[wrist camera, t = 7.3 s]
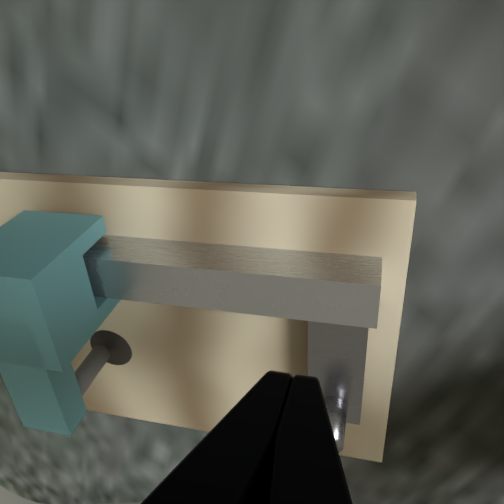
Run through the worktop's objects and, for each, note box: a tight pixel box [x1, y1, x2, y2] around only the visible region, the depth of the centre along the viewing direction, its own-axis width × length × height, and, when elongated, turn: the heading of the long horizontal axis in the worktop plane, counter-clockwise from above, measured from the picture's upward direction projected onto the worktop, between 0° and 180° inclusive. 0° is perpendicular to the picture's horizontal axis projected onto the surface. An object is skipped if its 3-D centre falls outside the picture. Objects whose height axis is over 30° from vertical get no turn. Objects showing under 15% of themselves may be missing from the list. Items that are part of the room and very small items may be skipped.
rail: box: [83, 235, 382, 329], centre depth 21 cm, size 17×2×2 cm, turn 93°
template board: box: [0, 172, 417, 463], centre depth 24 cm, size 19×15×1 cm
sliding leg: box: [0, 210, 121, 436], centre depth 22 cm, size 4×9×5 cm, turn 3°
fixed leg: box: [308, 321, 369, 453], centre depth 20 cm, size 2×6×4 cm, turn 3°
